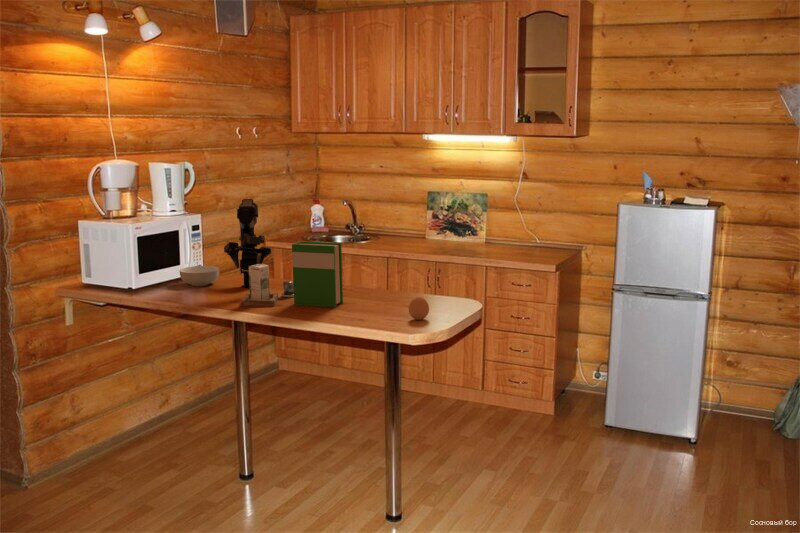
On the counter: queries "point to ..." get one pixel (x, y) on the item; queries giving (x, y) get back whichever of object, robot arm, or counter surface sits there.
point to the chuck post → (288, 289)
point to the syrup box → (259, 282)
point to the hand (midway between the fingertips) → (248, 269)
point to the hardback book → (317, 273)
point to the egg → (418, 308)
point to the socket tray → (259, 301)
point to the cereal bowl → (199, 275)
